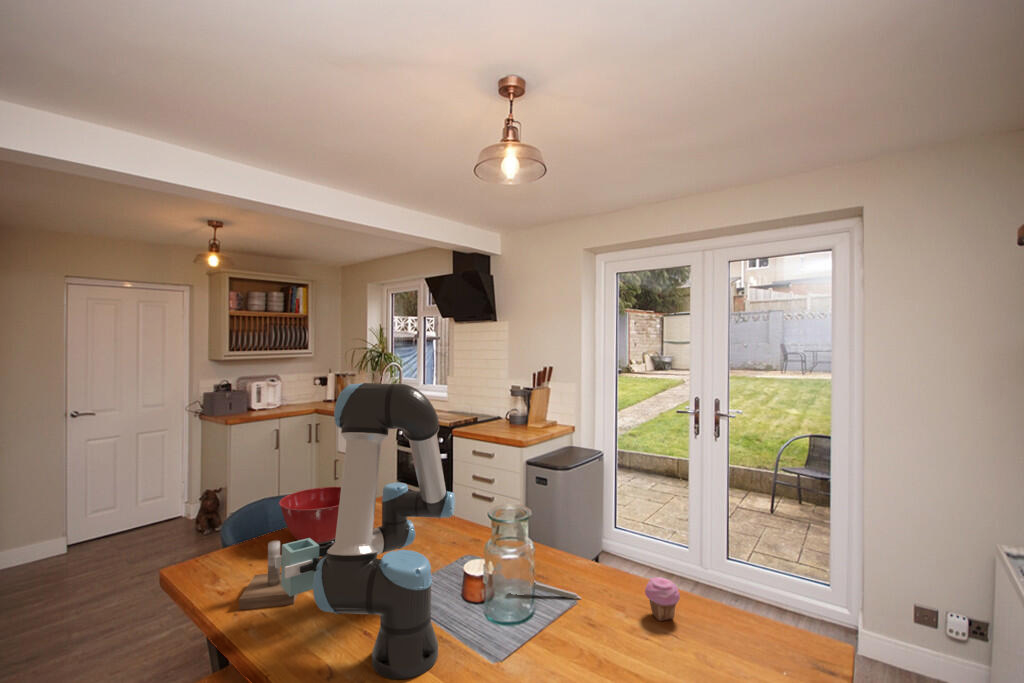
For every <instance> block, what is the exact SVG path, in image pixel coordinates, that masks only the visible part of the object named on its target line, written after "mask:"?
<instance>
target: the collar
mask: <svg viewBox="0 0 1024 683" xmlns="http://www.w3.org/2000/svg"><path fill="white" fill-rule="evenodd" d="M281 555H282V567H280V573H281V587H282V588H283V589H284V590H285V592H286V593H287V594H288V595H289V596H293V595H297V594H298V595H300V594H303V593H305V592H306V593H307V592H308V591H313V579H314V573H315V571H313V570H312V571H310V572H307V573H303V574H300V575H296V576H293V577H289V578H285V567H286V566H290V565H293V564H297V563H301V562H304V561H308V560H312V563H313V558H316V559H318V558H320V557H319V545H318V544H317V543H316V542H314V541H313V540H312V539H310V538H307V539H303V540H296V541H291V542H288V543H287V542H286V543H283V544H281ZM298 595H297V596H298Z"/></svg>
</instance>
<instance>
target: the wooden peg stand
mask: <svg viewBox="0 0 1024 683" xmlns="http://www.w3.org/2000/svg"><path fill="white" fill-rule="evenodd" d="M277 556H281V541H280V540H271V541H269V542H268V543H267V573H262V574H261V573H260V574H255V575H254V576H253V577H252V579H251V580H250V582H249V583H248V585H247V586H246V588H245V589H244V591H243V593H242V594H241V596H240V597H239V598H238V599H239V600H238V610H240V611H241V610H248V609H249V610H250V609H260V608H269V607H277V606H278V607H279V606H288V605H294V604H295V603H296V602H295V601H296V600H297V597H298V595H299V594H297V595H293V596H289V595H288V594H287V593H286V592H285V590H284V589H283V588H282V587H281V567H279V568H275V557H277Z"/></svg>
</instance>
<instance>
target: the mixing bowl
mask: <svg viewBox="0 0 1024 683" xmlns="http://www.w3.org/2000/svg"><path fill="white" fill-rule="evenodd" d="M340 494H341V486H325V487H315V488H314V487H313V488H309V489H303V490H299V491H296V492H293V493H290V494H288V495H286V496H283V498H281V499H280V500H279V501H278V503H279V504H278V505H279V506H280V509H281V513H282V515H283V519H284V522H285V524H286V526H287V528H288V530H289V532H290V533H291V535H292V536H293V537H294V538H295V539H296V541H299V540H303V539H307V538H310V539H312V540H313V541H314V542H316V543H321V542H326V541H330V540H332V539H335V537H336V528H337V520H338V511H339V502H340Z"/></svg>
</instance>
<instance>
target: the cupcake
mask: <svg viewBox="0 0 1024 683" xmlns="http://www.w3.org/2000/svg"><path fill="white" fill-rule="evenodd" d="M644 593H645V594H644V595H645V596H646V597H647V599H648V601H649V605H650V609H651V612H652V614H653V616H654V618H655V619H657V621H661V622H663V621H668V620H673V619H674V618H675V611H676V606H677V604H678V603H679V600H680V598H681V596H680V592H679V589H678V586H677V585H676V584H675V583H674V582H673V581H672V580H670V579H668V578H664V577H660V576H659V577H658V576H657V577H653V578H652V577H651V578H650V579H649V581H648V582H647V583H646V586H645V590H644Z"/></svg>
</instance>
